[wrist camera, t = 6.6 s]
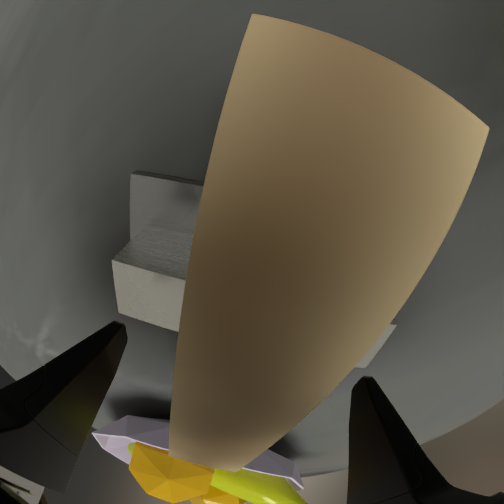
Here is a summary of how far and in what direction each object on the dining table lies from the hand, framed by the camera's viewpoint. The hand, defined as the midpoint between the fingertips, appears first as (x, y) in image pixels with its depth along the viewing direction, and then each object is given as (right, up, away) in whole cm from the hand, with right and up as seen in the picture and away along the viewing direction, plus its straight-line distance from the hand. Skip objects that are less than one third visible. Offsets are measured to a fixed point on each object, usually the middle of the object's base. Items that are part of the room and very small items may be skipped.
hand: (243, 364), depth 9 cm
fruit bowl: (-5, -21, +20) cm, 30 cm away
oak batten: (0, +1, +2) cm, 2 cm away
